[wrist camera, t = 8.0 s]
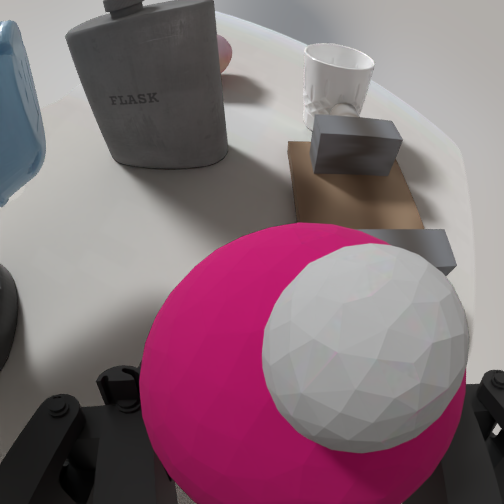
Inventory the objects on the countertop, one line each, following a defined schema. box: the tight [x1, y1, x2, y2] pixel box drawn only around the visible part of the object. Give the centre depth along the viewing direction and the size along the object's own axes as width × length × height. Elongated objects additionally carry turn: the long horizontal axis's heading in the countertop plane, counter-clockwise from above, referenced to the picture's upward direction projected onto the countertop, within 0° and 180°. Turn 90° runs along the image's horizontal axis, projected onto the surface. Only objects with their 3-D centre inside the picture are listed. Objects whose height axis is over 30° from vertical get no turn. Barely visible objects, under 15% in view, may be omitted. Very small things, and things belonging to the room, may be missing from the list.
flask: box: [65, 0, 228, 168], centre depth 24 cm, size 15×6×20 cm, turn 79°
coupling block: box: [287, 103, 457, 276], centre depth 24 cm, size 12×23×6 cm, turn 1°
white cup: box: [303, 43, 375, 131], centre depth 30 cm, size 8×8×10 cm
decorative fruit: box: [217, 35, 232, 73], centre depth 37 cm, size 9×8×10 cm
